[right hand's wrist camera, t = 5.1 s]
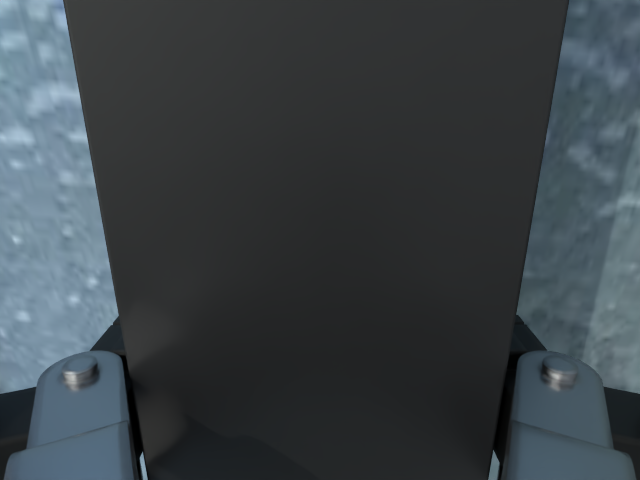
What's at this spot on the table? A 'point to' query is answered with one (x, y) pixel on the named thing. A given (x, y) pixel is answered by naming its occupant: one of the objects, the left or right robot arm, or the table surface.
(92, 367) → the right robot arm
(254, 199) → the box
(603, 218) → the table surface
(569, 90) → the table surface
